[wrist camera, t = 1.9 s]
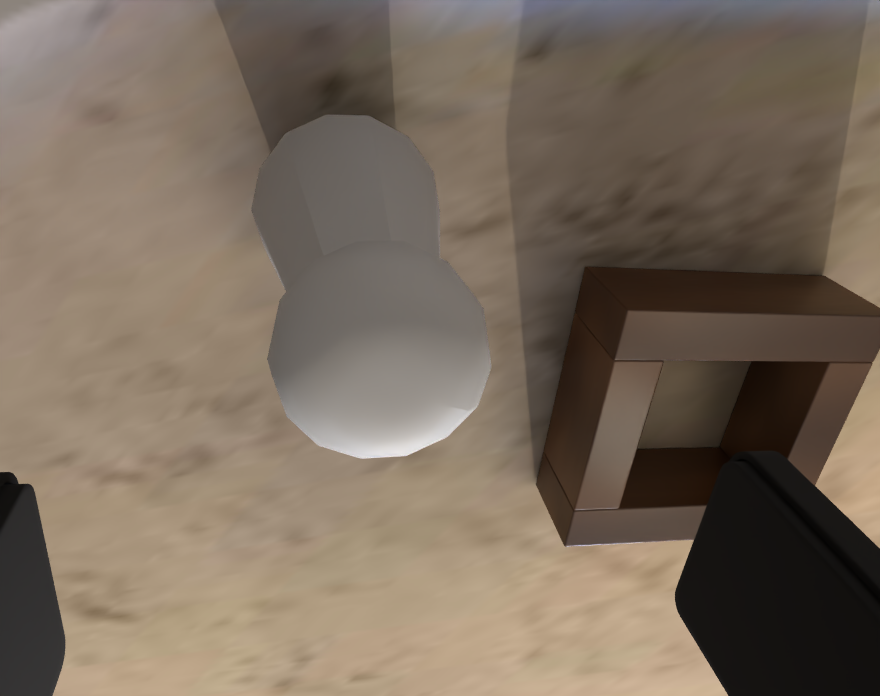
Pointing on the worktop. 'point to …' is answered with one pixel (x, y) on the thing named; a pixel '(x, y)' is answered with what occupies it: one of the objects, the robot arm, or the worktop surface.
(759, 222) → the worktop surface
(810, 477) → the holder
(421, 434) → the salt shaker
